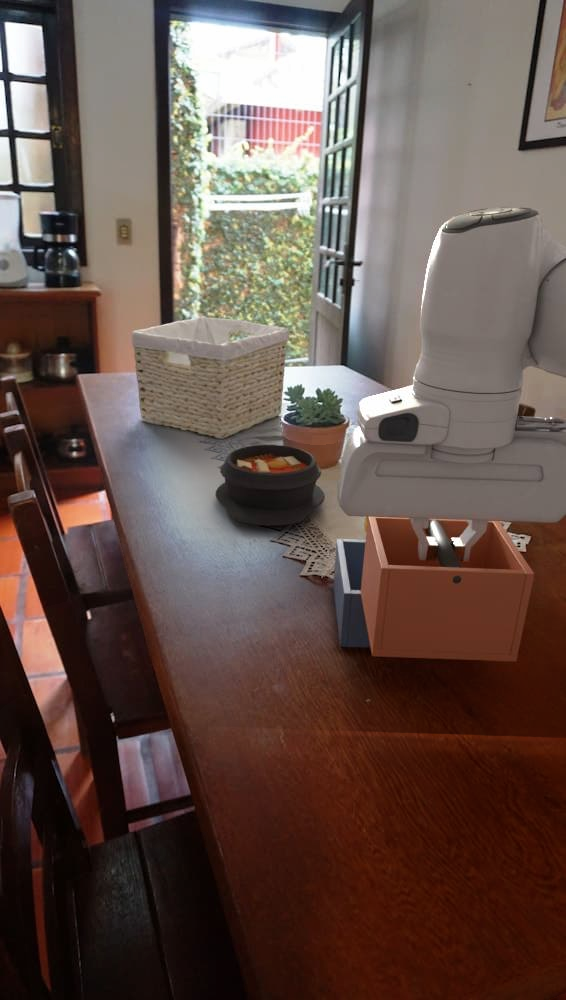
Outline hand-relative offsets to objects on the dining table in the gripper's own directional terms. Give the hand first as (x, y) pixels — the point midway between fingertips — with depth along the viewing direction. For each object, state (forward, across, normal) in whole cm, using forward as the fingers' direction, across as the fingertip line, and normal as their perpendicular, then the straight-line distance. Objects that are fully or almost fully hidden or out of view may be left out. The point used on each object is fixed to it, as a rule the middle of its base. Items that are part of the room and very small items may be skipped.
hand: (442, 558), depth 63 cm
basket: (+18, +32, -100) cm, 106 cm away
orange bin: (+7, 0, 0) cm, 7 cm away
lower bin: (+17, 0, -16) cm, 24 cm away
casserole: (+18, +17, -51) cm, 57 cm away
